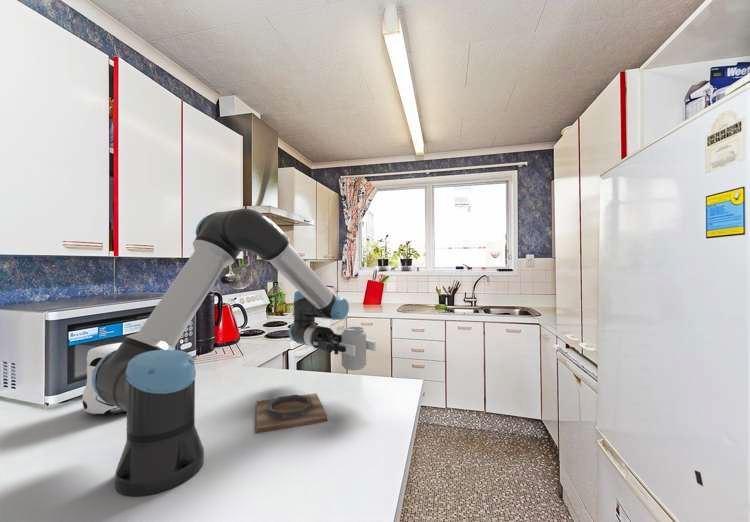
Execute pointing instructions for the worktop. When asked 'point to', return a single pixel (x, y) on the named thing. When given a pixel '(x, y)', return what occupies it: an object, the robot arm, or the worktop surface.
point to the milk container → (90, 398)
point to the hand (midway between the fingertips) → (364, 348)
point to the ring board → (289, 412)
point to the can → (357, 339)
